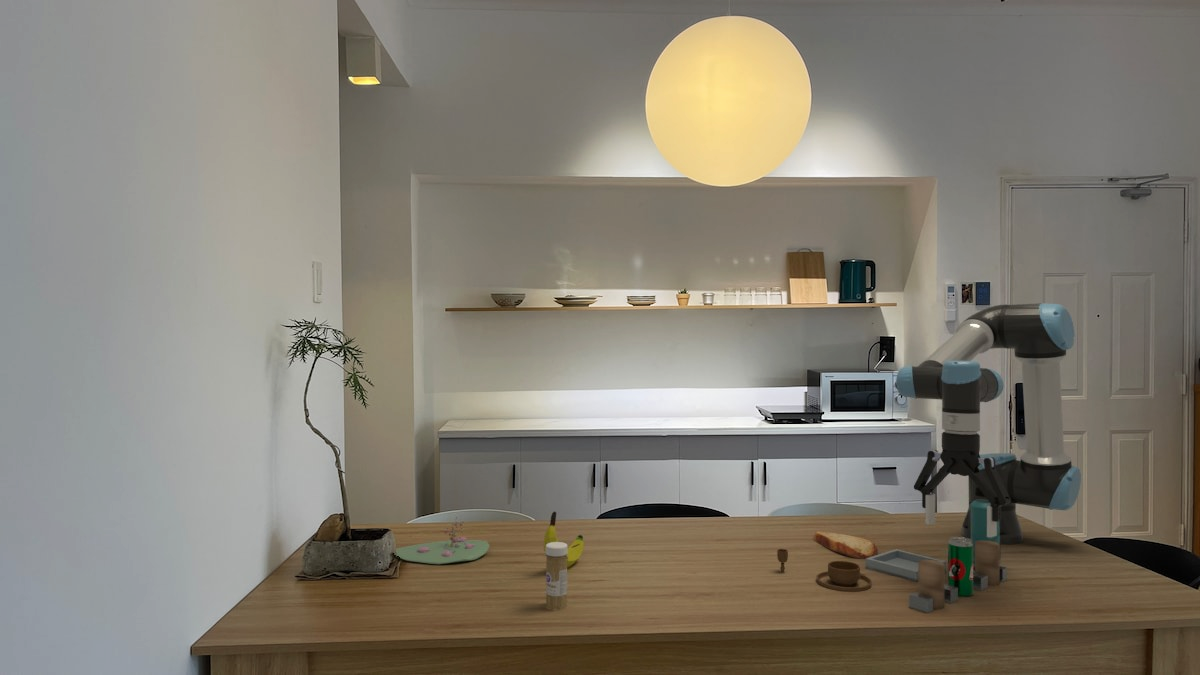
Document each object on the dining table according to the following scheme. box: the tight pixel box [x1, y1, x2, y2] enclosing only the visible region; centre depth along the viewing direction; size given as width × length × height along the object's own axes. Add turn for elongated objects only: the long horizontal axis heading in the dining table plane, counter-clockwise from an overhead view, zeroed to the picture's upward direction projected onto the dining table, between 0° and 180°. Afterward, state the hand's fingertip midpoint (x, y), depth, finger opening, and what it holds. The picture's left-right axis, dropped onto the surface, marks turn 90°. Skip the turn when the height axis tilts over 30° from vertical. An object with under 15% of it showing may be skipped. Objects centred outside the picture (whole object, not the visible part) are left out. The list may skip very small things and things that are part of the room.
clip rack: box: [908, 565, 1008, 614], centre depth 168 cm, size 34×4×3 cm, turn 128°
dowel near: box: [917, 560, 946, 610], centre depth 160 cm, size 5×5×9 cm
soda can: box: [947, 536, 974, 598], centre depth 168 cm, size 5×5×12 cm
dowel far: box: [974, 540, 1001, 587], centre depth 175 cm, size 5×5×9 cm
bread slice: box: [812, 531, 879, 560], centre depth 204 cm, size 18×18×4 cm
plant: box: [395, 517, 490, 565], centre depth 202 cm, size 25×21×9 cm
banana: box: [543, 511, 585, 569], centre depth 187 cm, size 5×17×15 cm, turn 155°
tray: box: [865, 548, 947, 583], centre depth 184 cm, size 13×13×2 cm
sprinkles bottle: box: [544, 541, 569, 612], centre depth 160 cm, size 5×5×14 cm
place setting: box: [776, 548, 873, 593], centre depth 178 cm, size 18×20×6 cm
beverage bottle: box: [970, 486, 1002, 566], centre depth 184 cm, size 6×7×20 cm
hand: (960, 529), depth 167 cm, fingers open, 13 cm apart
